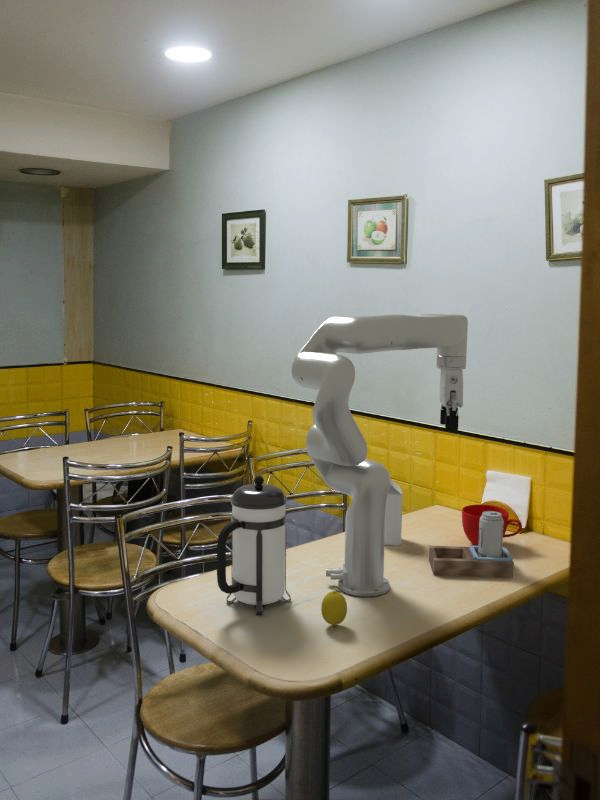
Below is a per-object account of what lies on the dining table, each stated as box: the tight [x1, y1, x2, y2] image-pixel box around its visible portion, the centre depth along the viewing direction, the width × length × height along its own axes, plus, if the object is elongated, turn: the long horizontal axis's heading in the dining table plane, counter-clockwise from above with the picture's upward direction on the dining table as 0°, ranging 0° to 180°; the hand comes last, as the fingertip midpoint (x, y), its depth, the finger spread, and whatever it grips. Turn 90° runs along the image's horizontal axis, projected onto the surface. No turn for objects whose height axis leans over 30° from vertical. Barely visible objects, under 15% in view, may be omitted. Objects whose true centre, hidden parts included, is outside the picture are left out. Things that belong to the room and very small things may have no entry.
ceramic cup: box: [461, 504, 523, 546], centre depth 210 cm, size 13×17×10 cm
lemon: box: [320, 590, 348, 627], centre depth 158 cm, size 6×6×8 cm
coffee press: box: [216, 475, 292, 616], centre depth 167 cm, size 17×16×30 cm
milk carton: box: [384, 478, 403, 547], centre depth 212 cm, size 7×7×19 cm
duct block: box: [428, 545, 515, 579], centre depth 192 cm, size 20×11×5 cm, turn 87°
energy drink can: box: [478, 511, 504, 558], centre depth 191 cm, size 6×6×15 cm
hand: (448, 427), depth 193 cm, fingers open, 9 cm apart
